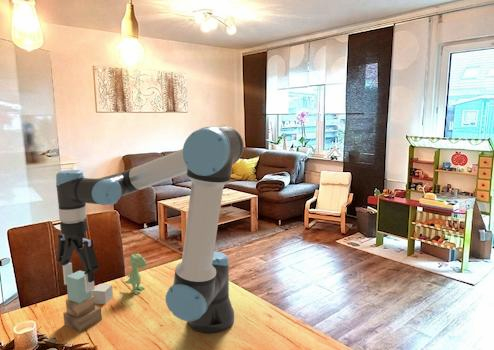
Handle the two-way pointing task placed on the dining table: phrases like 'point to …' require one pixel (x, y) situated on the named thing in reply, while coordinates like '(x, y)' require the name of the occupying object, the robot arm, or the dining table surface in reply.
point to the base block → (82, 320)
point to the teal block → (77, 287)
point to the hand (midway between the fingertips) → (79, 286)
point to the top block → (80, 307)
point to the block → (102, 293)
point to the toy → (136, 272)
